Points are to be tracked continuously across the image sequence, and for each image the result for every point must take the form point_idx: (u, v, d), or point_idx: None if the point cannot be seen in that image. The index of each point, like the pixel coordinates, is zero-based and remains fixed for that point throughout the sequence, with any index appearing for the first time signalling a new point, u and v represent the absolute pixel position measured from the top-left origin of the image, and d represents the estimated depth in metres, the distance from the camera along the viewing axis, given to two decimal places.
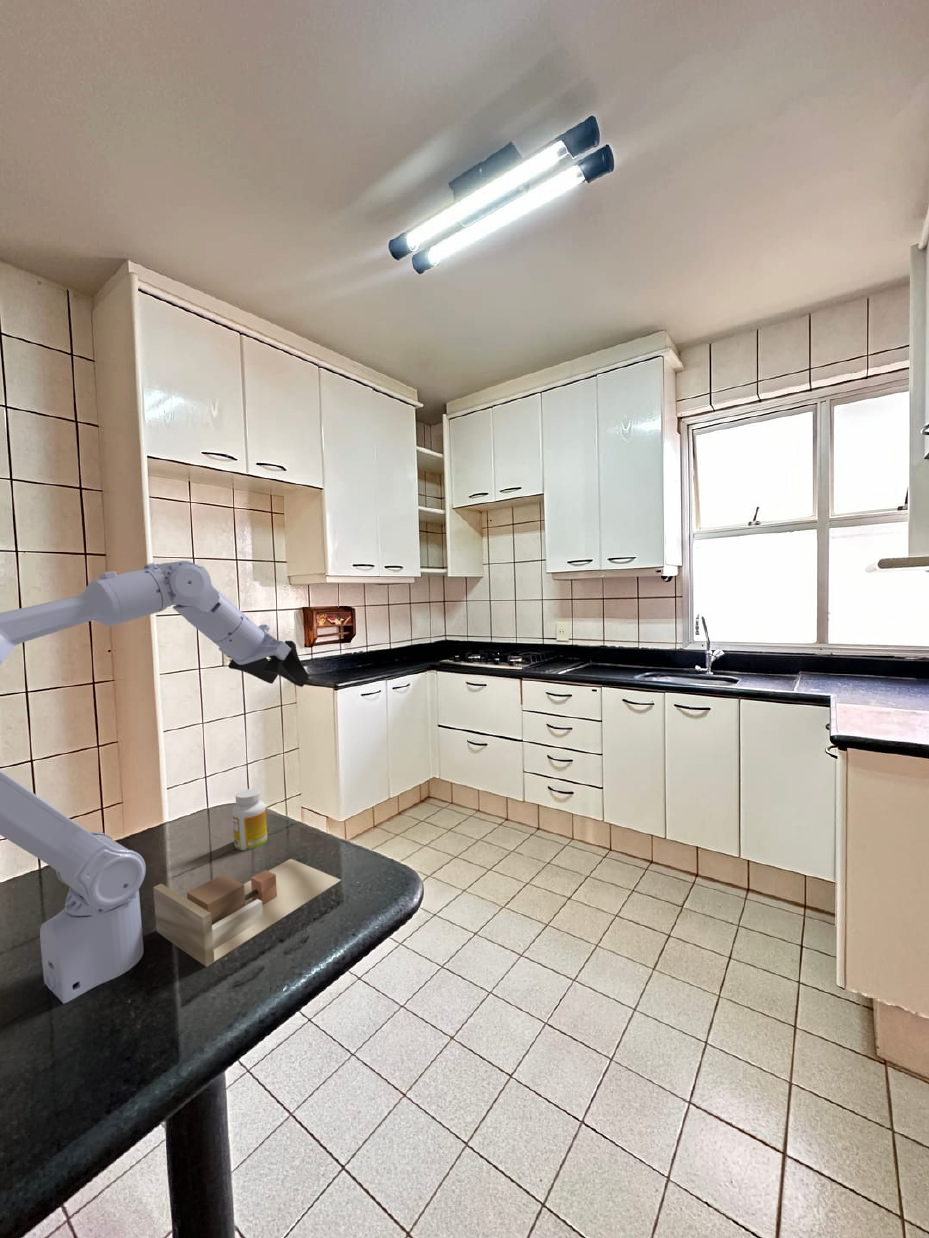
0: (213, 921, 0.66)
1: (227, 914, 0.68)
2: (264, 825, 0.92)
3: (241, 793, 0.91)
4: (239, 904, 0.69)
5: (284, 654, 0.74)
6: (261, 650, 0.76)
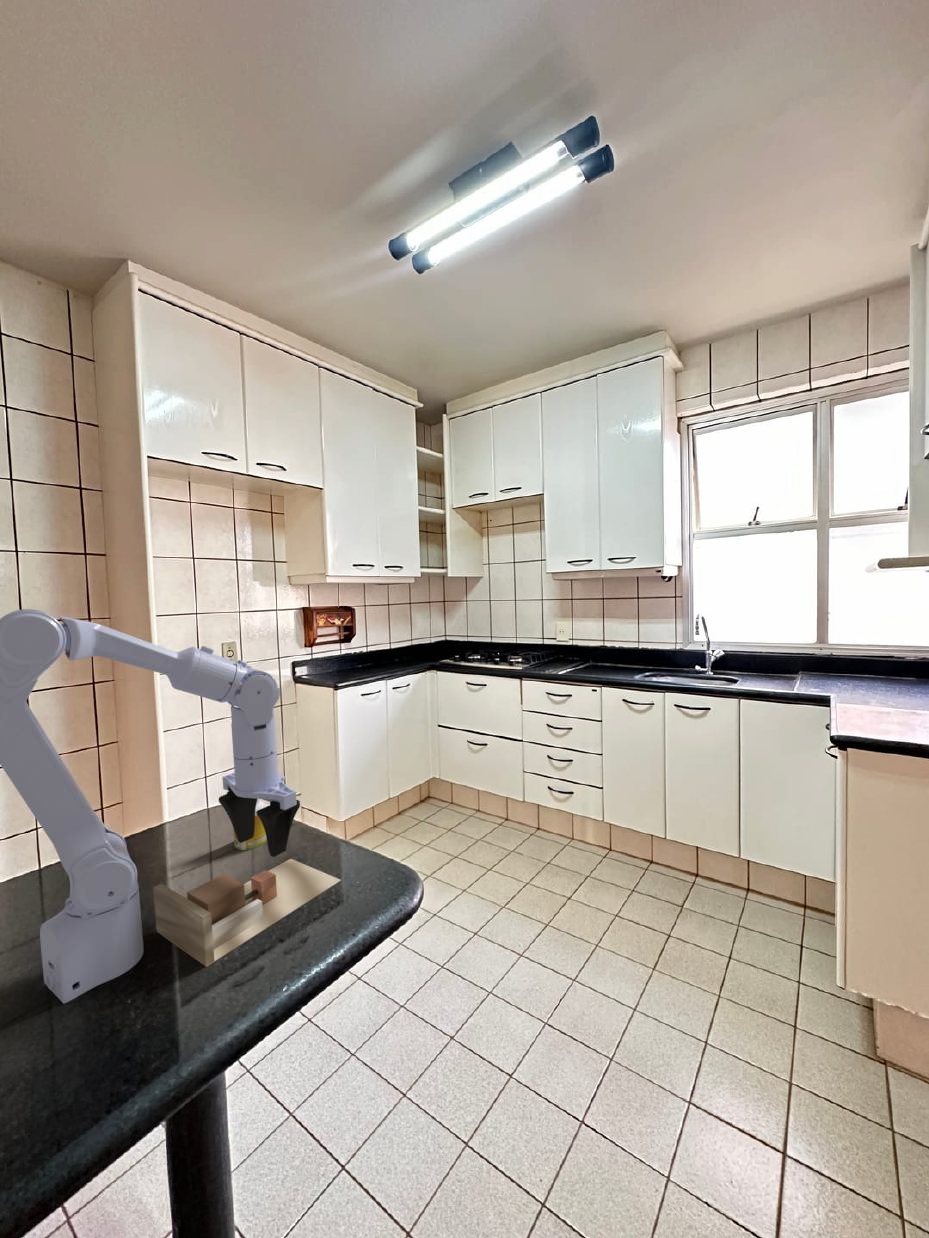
0: (213, 921, 0.66)
1: (227, 914, 0.68)
2: None
3: None
4: (239, 904, 0.69)
5: (288, 805, 0.70)
6: (267, 792, 0.72)
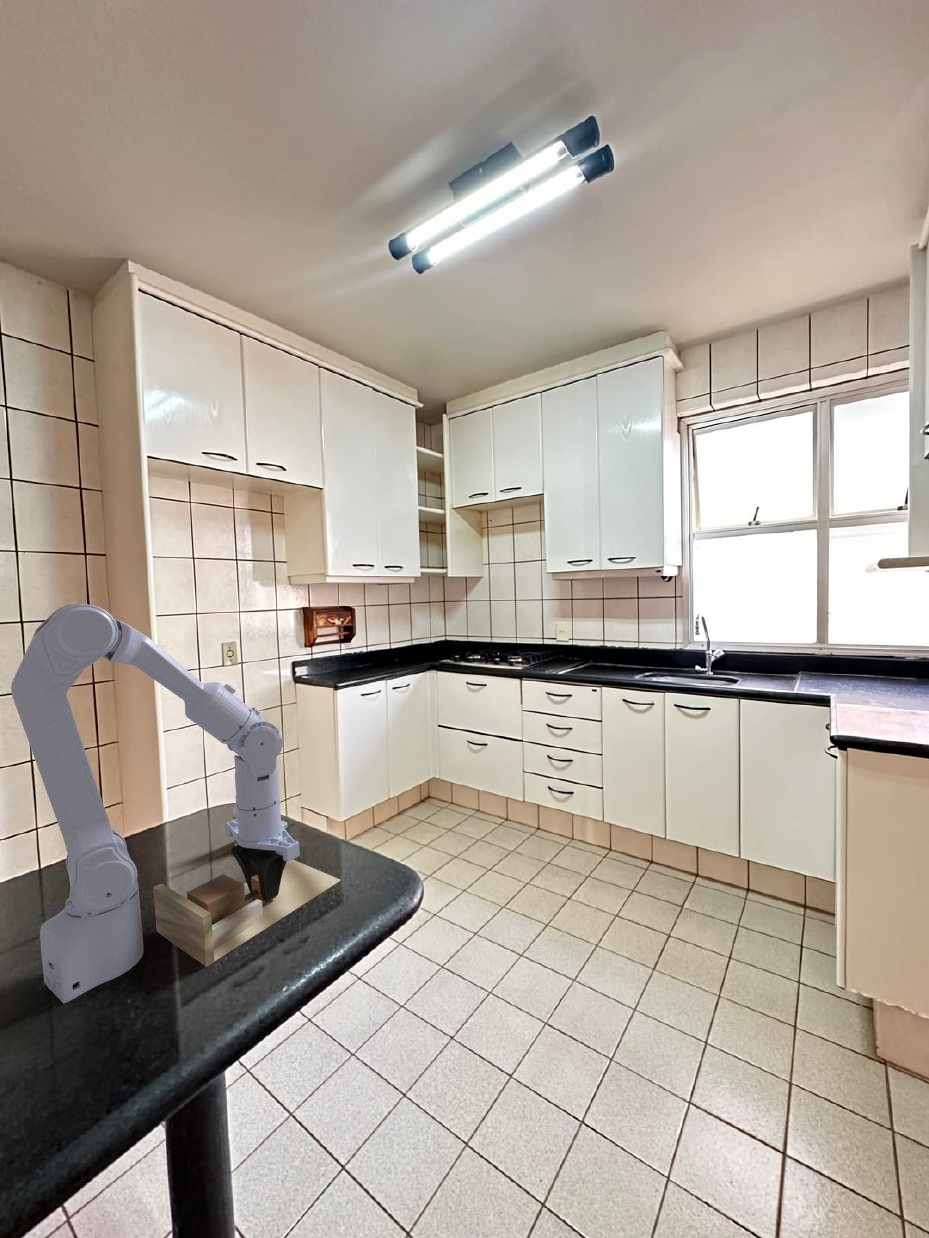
0: (213, 921, 0.66)
1: (227, 914, 0.68)
2: None
3: None
4: (239, 904, 0.69)
5: (291, 856, 0.70)
6: (270, 842, 0.72)
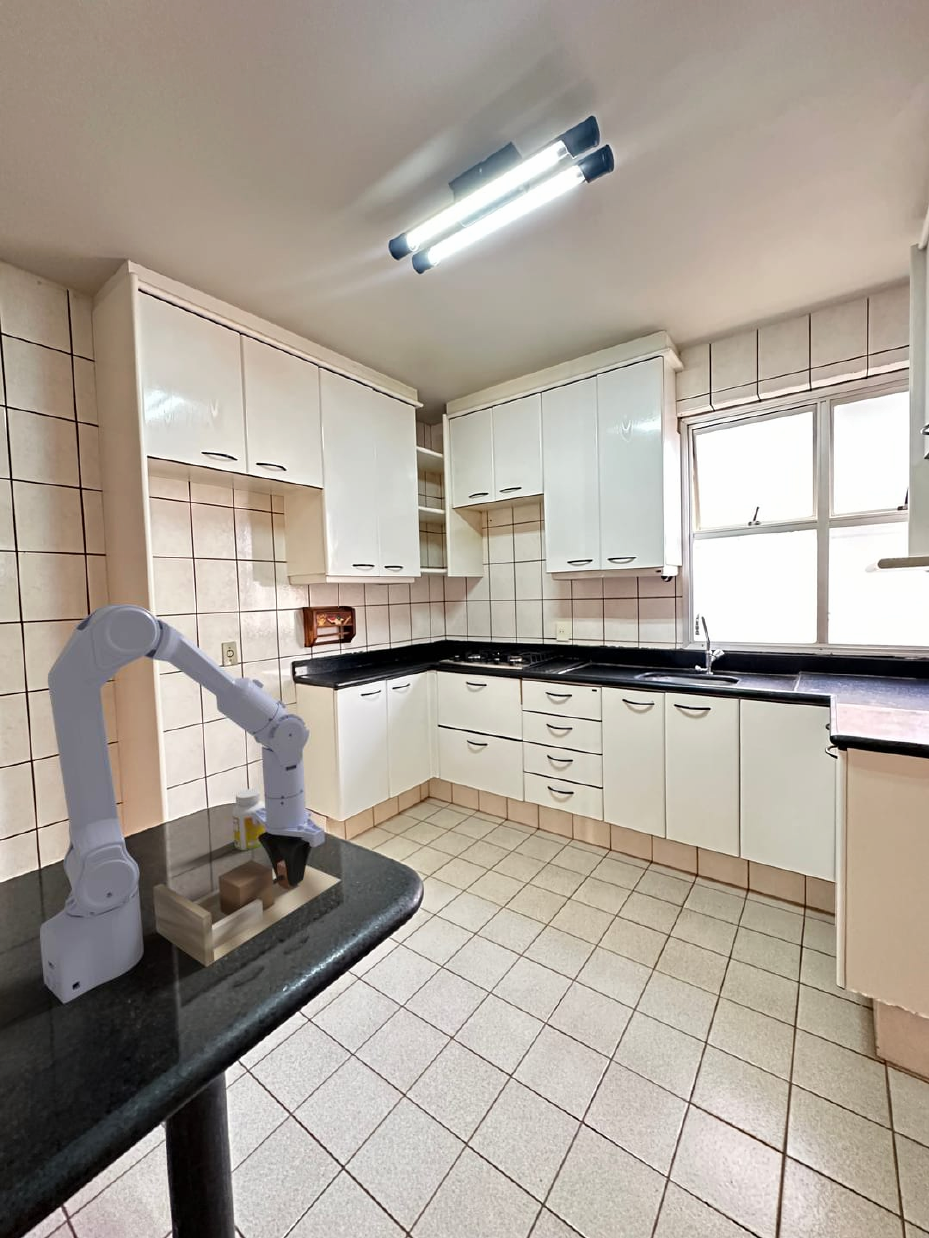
0: (244, 903, 0.70)
1: (256, 897, 0.71)
2: None
3: (241, 793, 0.91)
4: (268, 888, 0.73)
5: (317, 842, 0.74)
6: (297, 829, 0.76)
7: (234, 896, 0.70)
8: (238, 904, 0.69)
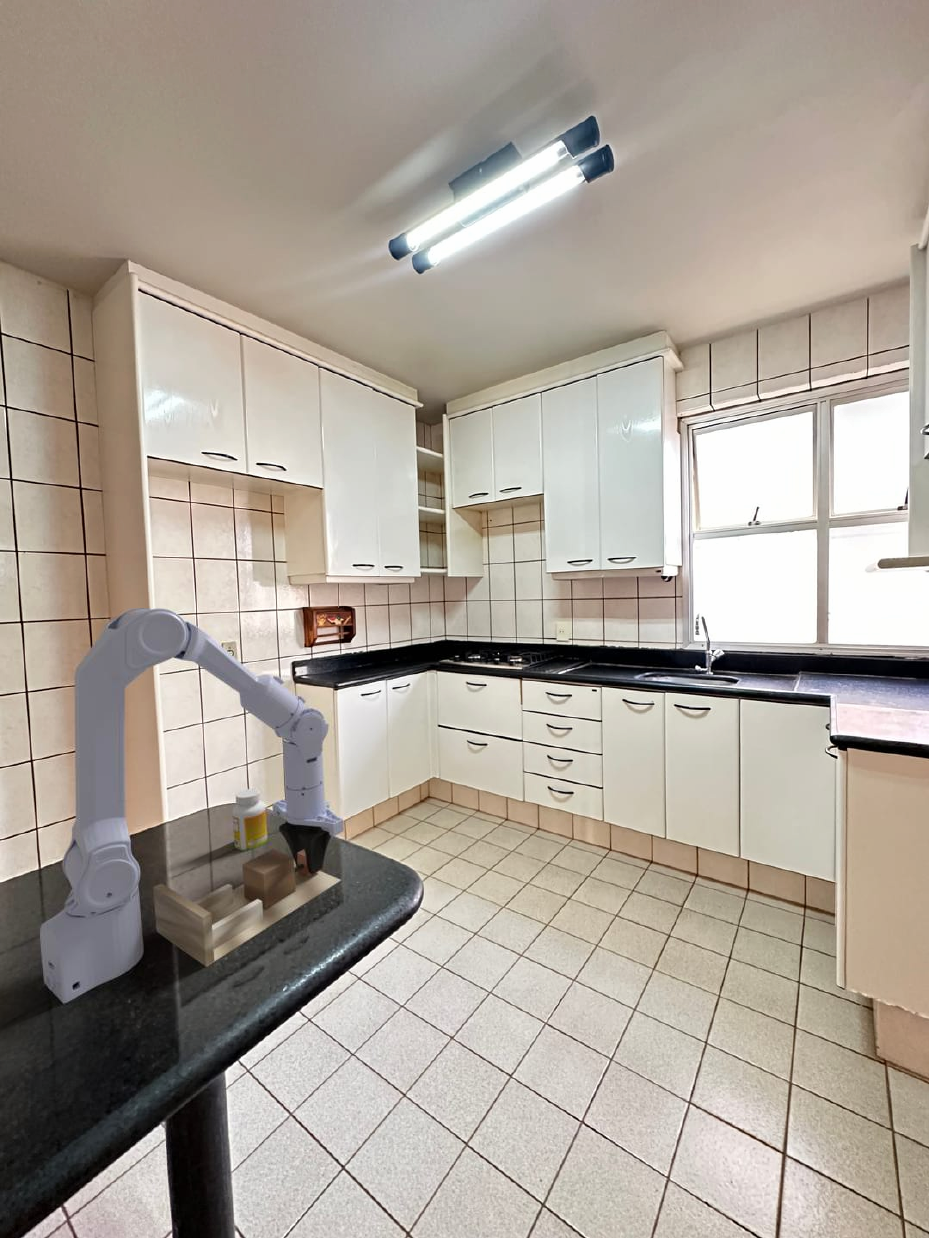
0: (268, 890, 0.73)
1: (279, 884, 0.74)
2: (264, 825, 0.92)
3: (241, 793, 0.91)
4: (289, 875, 0.76)
5: (337, 831, 0.77)
6: (317, 819, 0.79)
7: (258, 883, 0.73)
8: (262, 890, 0.72)
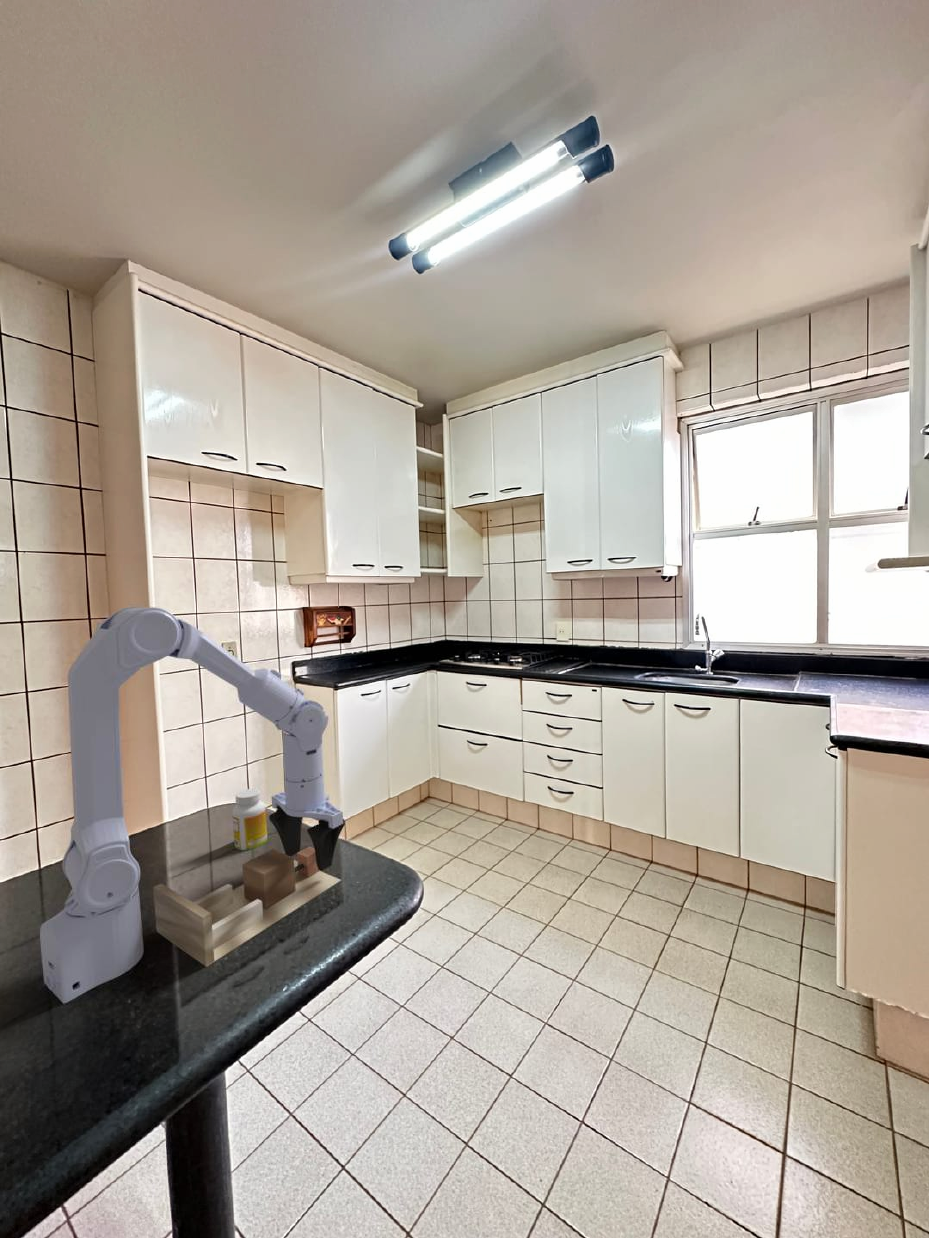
0: (268, 890, 0.73)
1: (279, 884, 0.74)
2: (264, 825, 0.92)
3: (241, 793, 0.91)
4: (289, 875, 0.76)
5: (336, 824, 0.76)
6: (316, 811, 0.79)
7: (258, 883, 0.73)
8: (262, 890, 0.72)
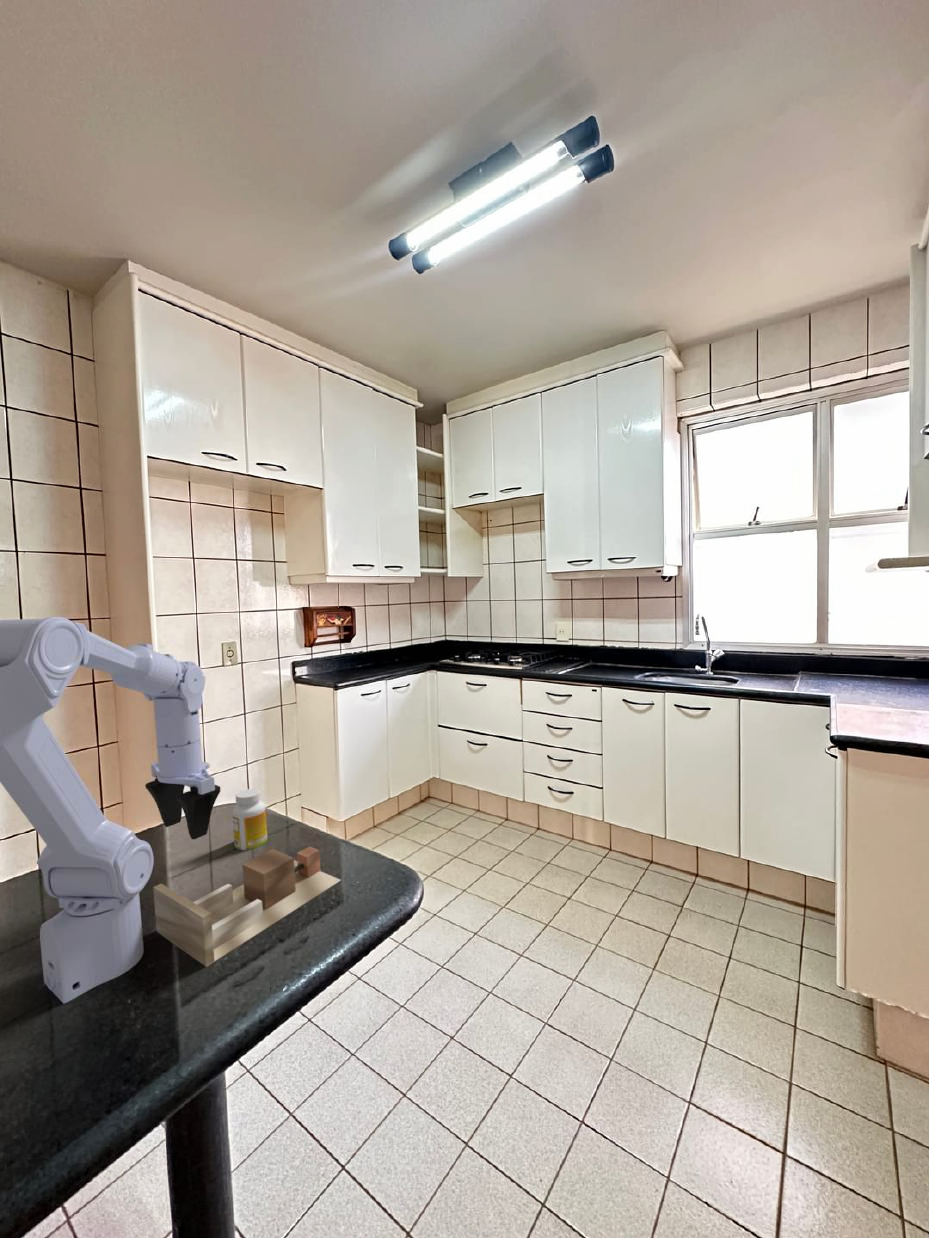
0: (268, 890, 0.73)
1: (279, 884, 0.74)
2: (264, 825, 0.92)
3: (241, 793, 0.91)
4: (289, 875, 0.76)
5: (205, 790, 0.74)
6: (188, 778, 0.76)
7: (258, 883, 0.73)
8: (262, 890, 0.72)
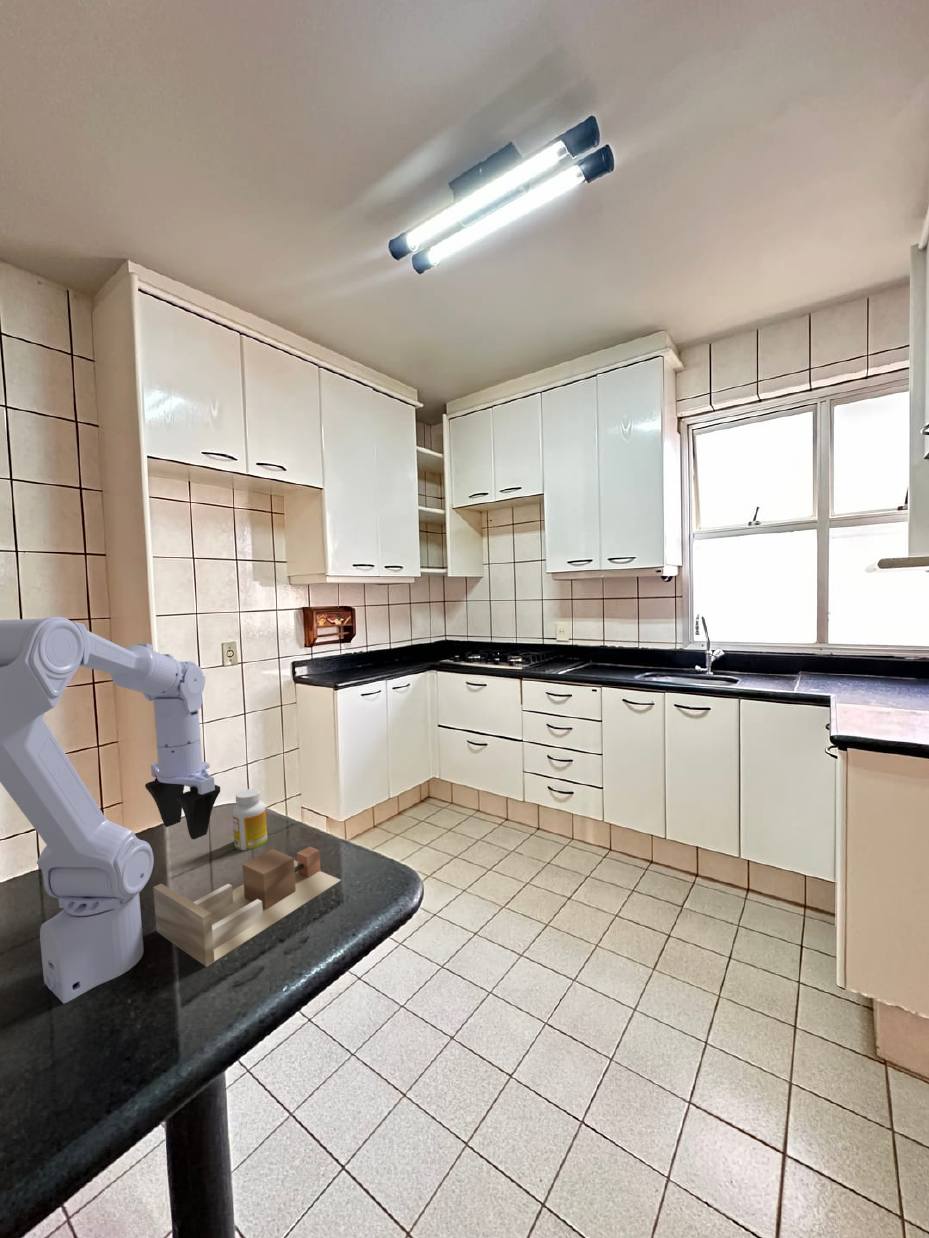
0: (268, 890, 0.73)
1: (279, 884, 0.74)
2: (264, 825, 0.92)
3: (241, 793, 0.91)
4: (289, 875, 0.76)
5: (205, 790, 0.74)
6: (188, 778, 0.76)
7: (258, 883, 0.73)
8: (262, 890, 0.72)
